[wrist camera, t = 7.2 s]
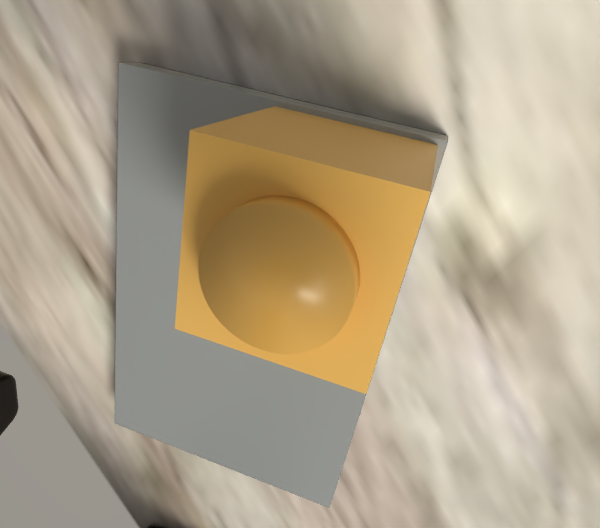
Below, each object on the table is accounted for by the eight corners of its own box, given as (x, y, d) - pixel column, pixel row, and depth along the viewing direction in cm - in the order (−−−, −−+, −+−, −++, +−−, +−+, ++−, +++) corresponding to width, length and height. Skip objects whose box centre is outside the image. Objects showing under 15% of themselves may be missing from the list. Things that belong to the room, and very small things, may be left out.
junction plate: (334, 488, 24) (307, 589, 20) (128, 408, 26) (59, 482, 22) (448, 136, 16) (446, 167, 12) (137, 62, 18) (32, 63, 14)
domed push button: (391, 293, 18) (361, 414, 12) (252, 251, 19) (159, 343, 13) (437, 145, 15) (429, 202, 9) (275, 106, 16) (171, 135, 10)
